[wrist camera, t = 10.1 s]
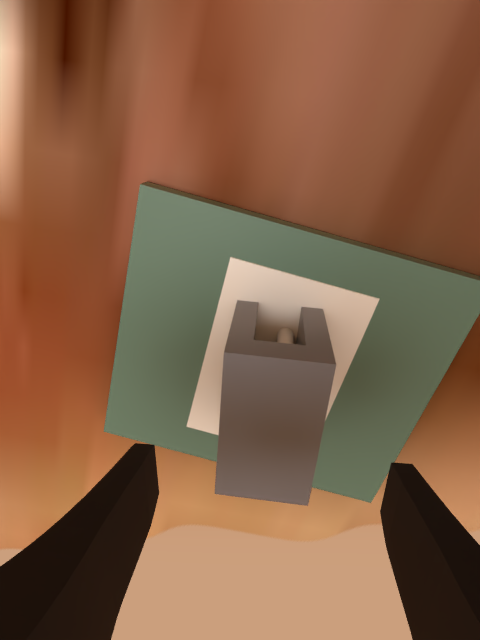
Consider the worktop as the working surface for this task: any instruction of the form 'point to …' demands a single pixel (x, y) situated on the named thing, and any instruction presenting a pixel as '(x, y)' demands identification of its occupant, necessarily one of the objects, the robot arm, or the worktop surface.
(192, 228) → the board
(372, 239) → the worktop surface
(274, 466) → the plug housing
